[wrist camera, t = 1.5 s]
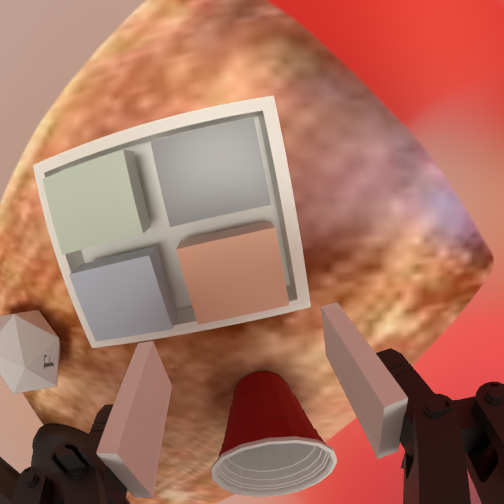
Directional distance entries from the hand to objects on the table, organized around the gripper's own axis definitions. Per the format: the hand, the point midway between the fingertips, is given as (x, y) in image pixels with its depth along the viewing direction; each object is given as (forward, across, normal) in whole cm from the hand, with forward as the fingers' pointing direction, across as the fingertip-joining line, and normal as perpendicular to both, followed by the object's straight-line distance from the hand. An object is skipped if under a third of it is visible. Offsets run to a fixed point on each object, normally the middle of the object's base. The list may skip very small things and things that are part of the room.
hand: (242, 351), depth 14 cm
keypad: (+15, +4, -4) cm, 16 cm away
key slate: (+12, +9, 0) cm, 15 cm away
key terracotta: (+12, 0, 0) cm, 12 cm away
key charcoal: (+12, 0, -8) cm, 14 cm away
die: (+15, +24, +4) cm, 28 cm away
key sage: (+12, +9, -8) cm, 17 cm away
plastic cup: (+15, 0, +16) cm, 22 cm away
